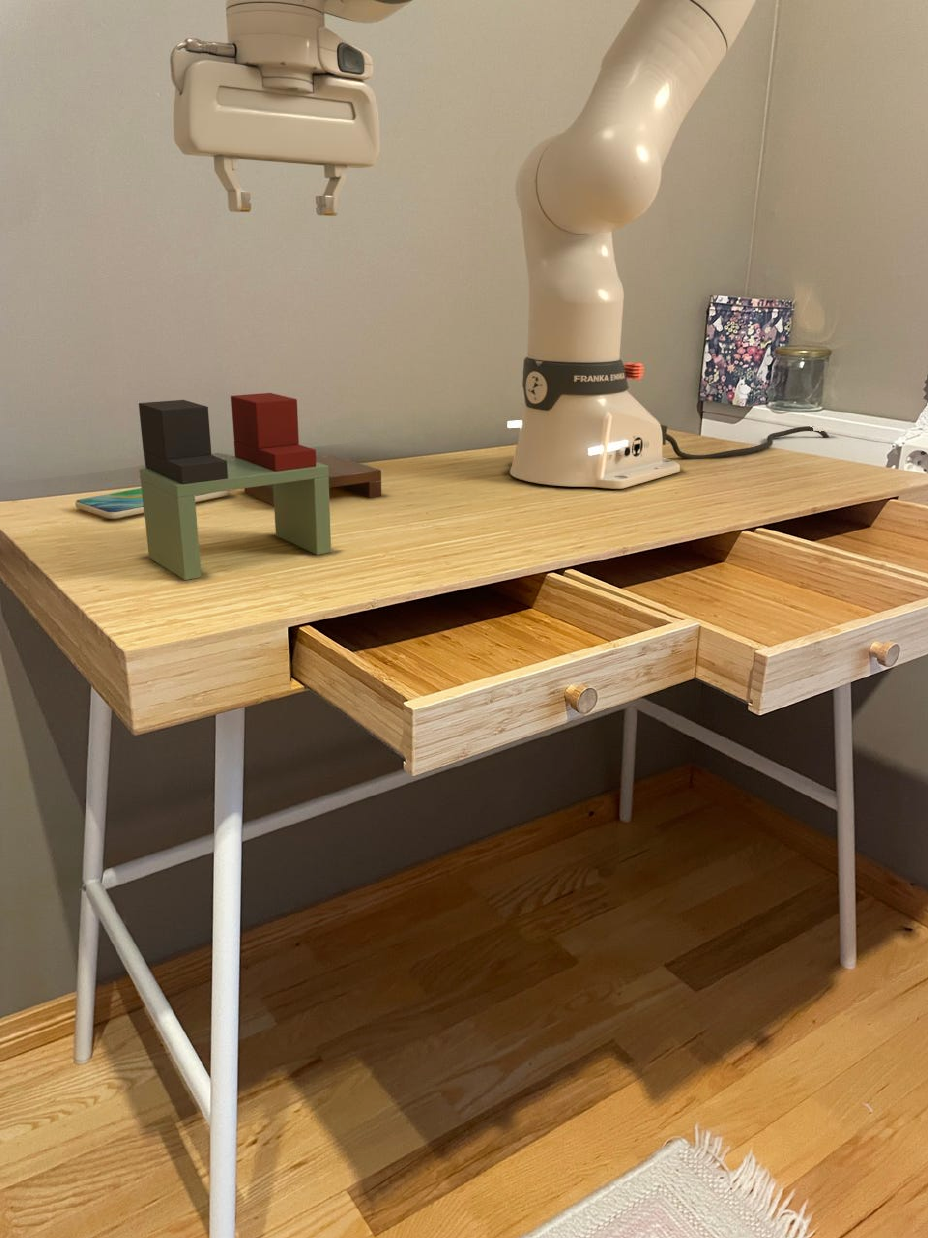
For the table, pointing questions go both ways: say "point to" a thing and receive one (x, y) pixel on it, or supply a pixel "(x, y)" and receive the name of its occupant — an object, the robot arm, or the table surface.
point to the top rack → (294, 490)
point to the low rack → (336, 479)
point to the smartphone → (126, 503)
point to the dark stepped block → (179, 442)
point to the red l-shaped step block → (269, 432)
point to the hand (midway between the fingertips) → (284, 213)
